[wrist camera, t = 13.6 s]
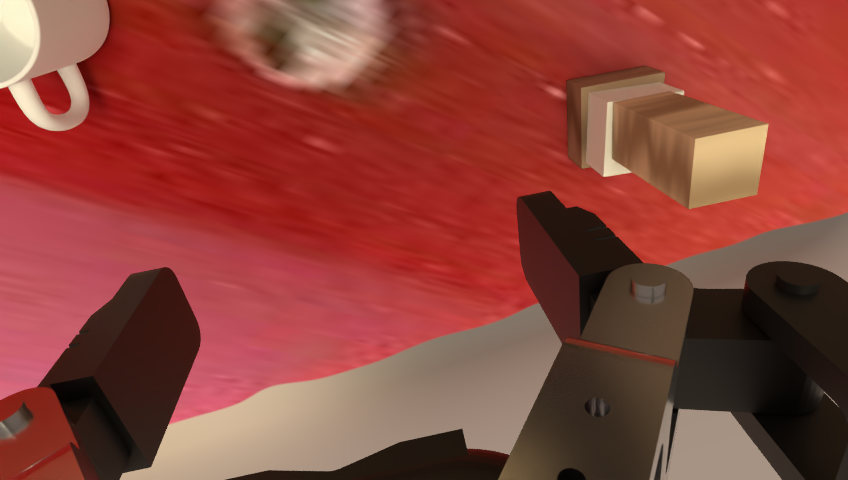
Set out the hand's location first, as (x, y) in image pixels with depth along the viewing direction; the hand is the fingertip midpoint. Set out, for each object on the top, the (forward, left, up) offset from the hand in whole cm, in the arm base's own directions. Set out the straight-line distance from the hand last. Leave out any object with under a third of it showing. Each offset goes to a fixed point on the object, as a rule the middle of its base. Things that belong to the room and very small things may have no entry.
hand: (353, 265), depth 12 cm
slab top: (+5, +22, -30) cm, 38 cm away
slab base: (+5, +22, -33) cm, 40 cm away
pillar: (+4, +22, -26) cm, 34 cm away
